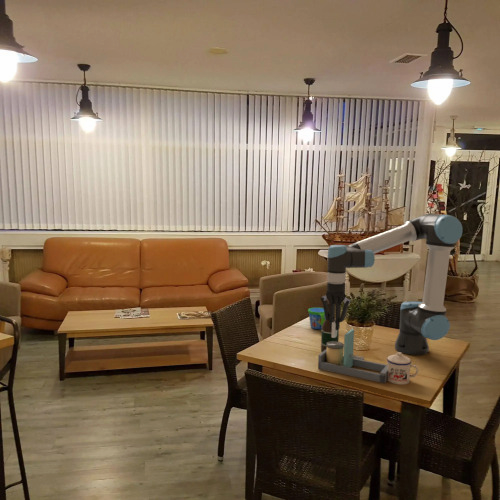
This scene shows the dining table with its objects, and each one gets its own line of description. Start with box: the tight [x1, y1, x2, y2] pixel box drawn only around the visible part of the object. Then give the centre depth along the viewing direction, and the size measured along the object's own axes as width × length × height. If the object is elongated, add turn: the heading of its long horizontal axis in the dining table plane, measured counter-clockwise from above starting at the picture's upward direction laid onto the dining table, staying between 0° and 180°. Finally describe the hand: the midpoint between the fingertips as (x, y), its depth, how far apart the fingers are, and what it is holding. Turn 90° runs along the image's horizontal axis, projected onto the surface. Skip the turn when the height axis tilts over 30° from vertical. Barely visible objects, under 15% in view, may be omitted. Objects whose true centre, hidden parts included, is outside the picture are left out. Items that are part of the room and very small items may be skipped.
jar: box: [326, 341, 344, 366], centre depth 197 cm, size 7×7×10 cm
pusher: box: [343, 328, 365, 368], centre depth 192 cm, size 7×9×16 cm
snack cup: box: [307, 307, 326, 330], centre depth 252 cm, size 16×10×10 cm
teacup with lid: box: [386, 351, 419, 385], centre depth 183 cm, size 12×9×12 cm
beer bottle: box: [320, 301, 340, 353], centre depth 212 cm, size 8×8×24 cm
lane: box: [317, 349, 388, 384], centre depth 192 cm, size 28×12×6 cm, turn 59°
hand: (334, 336), depth 196 cm, fingers closed
